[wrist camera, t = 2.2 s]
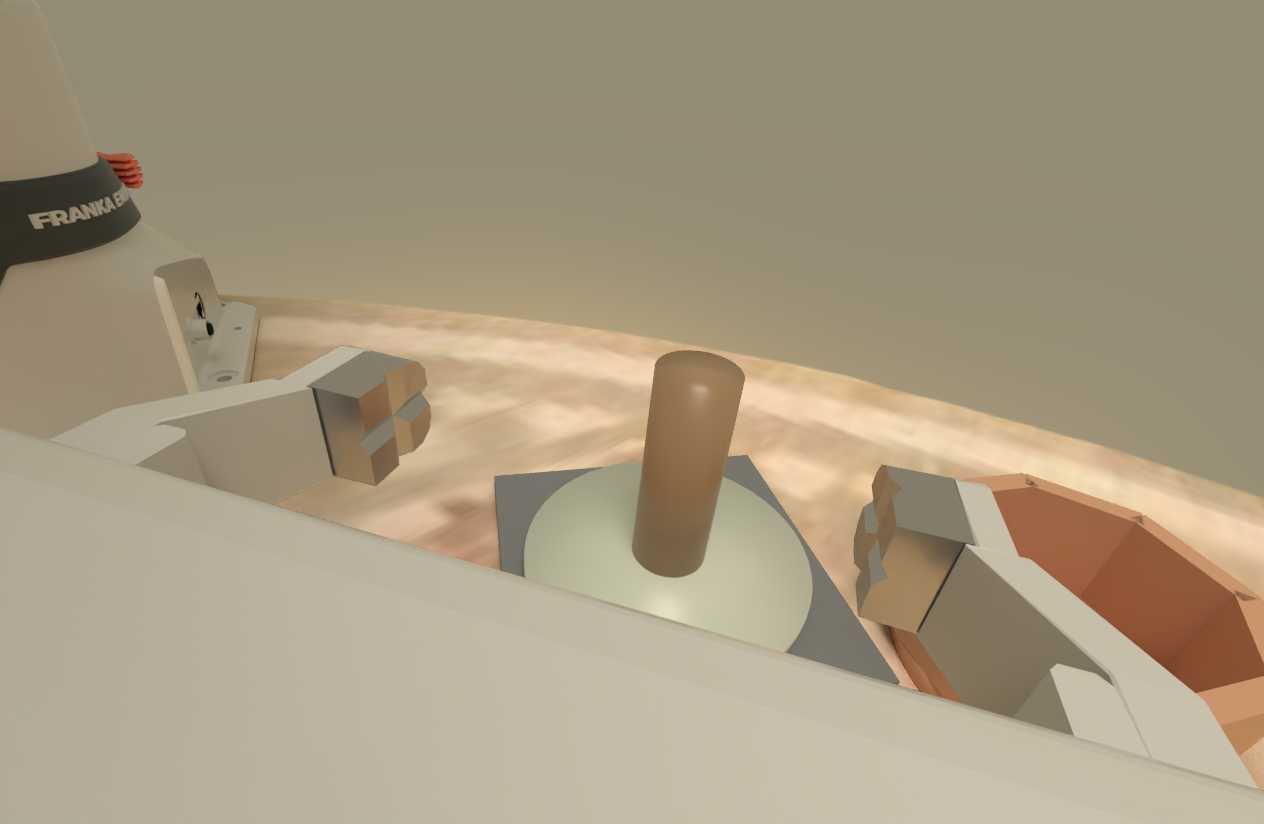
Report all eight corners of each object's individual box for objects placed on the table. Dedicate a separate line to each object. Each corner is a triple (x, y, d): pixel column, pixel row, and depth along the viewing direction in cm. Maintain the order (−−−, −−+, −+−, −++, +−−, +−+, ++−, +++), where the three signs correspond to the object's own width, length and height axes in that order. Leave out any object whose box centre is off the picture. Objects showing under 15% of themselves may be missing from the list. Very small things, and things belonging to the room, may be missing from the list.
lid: (513, 485, 33) (508, 304, 27) (739, 466, 36) (779, 301, 30) (541, 727, 21) (544, 506, 15) (865, 664, 25) (968, 465, 19)
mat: (494, 482, 33) (494, 476, 33) (745, 461, 38) (747, 455, 37) (517, 768, 21) (516, 761, 20) (895, 688, 25) (899, 681, 24)
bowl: (841, 577, 30) (878, 488, 26) (1024, 550, 33) (1077, 467, 30) (1025, 842, 20) (1118, 753, 17) (1261, 769, 23) (1379, 681, 20)
